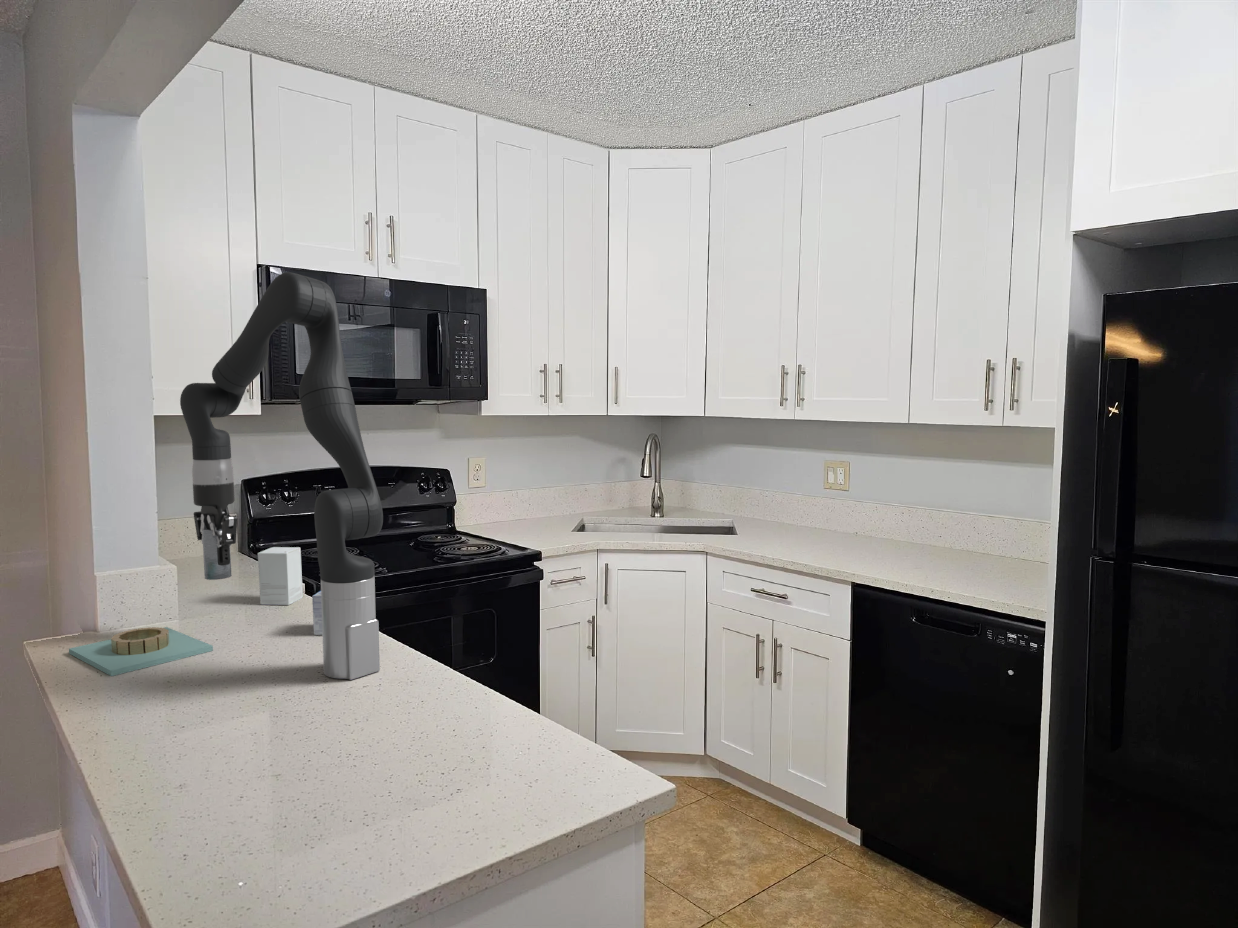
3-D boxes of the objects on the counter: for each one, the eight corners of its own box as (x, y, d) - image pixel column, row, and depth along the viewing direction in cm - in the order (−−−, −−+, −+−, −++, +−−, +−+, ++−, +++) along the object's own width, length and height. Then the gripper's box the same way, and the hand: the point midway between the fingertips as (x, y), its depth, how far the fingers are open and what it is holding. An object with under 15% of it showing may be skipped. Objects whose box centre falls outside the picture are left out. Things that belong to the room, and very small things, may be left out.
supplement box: (303, 597, 199) (302, 546, 198) (288, 605, 192) (286, 552, 191) (275, 596, 200) (273, 546, 199) (258, 604, 193) (256, 552, 192)
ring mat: (212, 650, 159) (212, 645, 159) (111, 676, 145) (110, 670, 145) (166, 631, 172) (166, 626, 172) (69, 653, 158) (68, 648, 157)
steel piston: (236, 576, 169) (233, 528, 168) (211, 580, 165) (209, 531, 164) (224, 573, 172) (221, 526, 171) (200, 577, 168) (197, 529, 167)
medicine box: (334, 635, 169) (333, 594, 168) (313, 635, 169) (311, 594, 168) (347, 624, 177) (346, 585, 176) (327, 624, 177) (326, 585, 176)
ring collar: (177, 645, 159) (176, 633, 159) (124, 658, 152) (124, 645, 152) (156, 636, 165) (155, 624, 165) (104, 648, 158) (103, 635, 157)
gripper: (249, 481, 165) (253, 564, 167) (214, 477, 174) (218, 556, 175) (211, 485, 159) (216, 570, 161) (178, 480, 168) (182, 562, 169)
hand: (217, 562), depth 168 cm, fingers closed on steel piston, 5 cm apart
